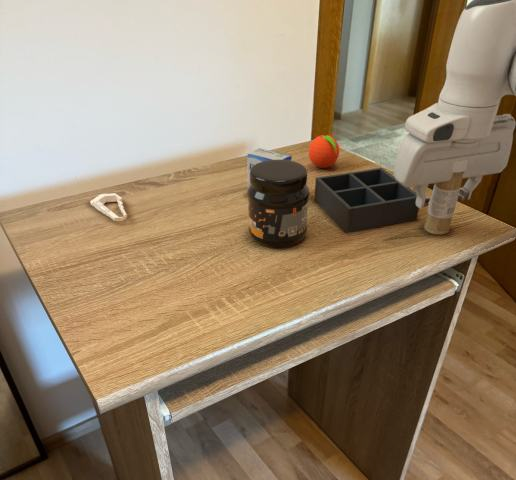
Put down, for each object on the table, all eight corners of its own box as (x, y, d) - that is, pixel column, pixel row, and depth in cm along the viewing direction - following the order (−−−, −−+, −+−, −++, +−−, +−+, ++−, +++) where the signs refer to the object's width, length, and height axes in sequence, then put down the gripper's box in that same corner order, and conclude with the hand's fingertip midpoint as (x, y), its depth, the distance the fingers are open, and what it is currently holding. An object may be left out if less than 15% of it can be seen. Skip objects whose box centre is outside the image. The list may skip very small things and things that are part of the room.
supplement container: (242, 225, 91) (240, 161, 83) (296, 218, 93) (299, 155, 85) (256, 253, 83) (255, 186, 75) (314, 245, 85) (319, 178, 77)
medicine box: (247, 195, 101) (245, 153, 95) (259, 188, 104) (258, 146, 98) (278, 204, 97) (279, 161, 92) (290, 196, 100) (292, 154, 94)
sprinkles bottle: (439, 222, 91) (457, 149, 82) (454, 233, 88) (475, 158, 79) (418, 226, 90) (434, 153, 81) (432, 238, 87) (451, 162, 78)
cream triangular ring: (141, 219, 93) (139, 210, 92) (117, 226, 91) (115, 218, 90) (111, 196, 101) (110, 188, 100) (89, 203, 99) (87, 195, 98)
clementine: (346, 170, 110) (350, 138, 105) (321, 176, 108) (324, 143, 103) (326, 159, 115) (328, 127, 111) (301, 165, 113) (303, 133, 108)
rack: (378, 189, 102) (381, 167, 99) (416, 219, 92) (421, 196, 89) (314, 199, 99) (315, 177, 96) (346, 232, 89) (349, 209, 85)
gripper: (505, 107, 81) (480, 187, 90) (397, 120, 76) (382, 203, 85) (532, 118, 76) (503, 201, 86) (419, 133, 72) (401, 219, 81)
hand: (442, 202), depth 85 cm, fingers open, 7 cm apart
